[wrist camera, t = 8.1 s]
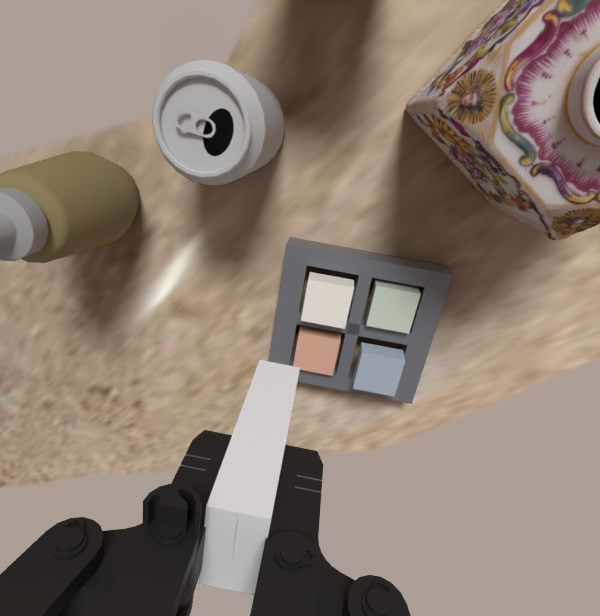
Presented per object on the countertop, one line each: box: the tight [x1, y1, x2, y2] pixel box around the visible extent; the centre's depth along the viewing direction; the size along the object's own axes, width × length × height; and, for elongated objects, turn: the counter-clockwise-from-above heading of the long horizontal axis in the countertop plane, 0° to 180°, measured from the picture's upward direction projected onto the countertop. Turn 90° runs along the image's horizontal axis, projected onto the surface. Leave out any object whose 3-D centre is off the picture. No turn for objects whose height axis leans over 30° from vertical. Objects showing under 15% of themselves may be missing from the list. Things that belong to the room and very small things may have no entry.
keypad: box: [269, 237, 453, 404], centre depth 42 cm, size 15×14×3 cm
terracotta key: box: [293, 325, 341, 376], centre depth 43 cm, size 4×4×3 cm
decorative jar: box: [406, 0, 600, 240], centre depth 26 cm, size 12×12×18 cm
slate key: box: [353, 342, 405, 397], centre depth 41 cm, size 4×4×3 cm
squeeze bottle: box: [0, 151, 140, 263], centre depth 33 cm, size 8×8×18 cm
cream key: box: [301, 272, 354, 329], centre depth 39 cm, size 4×4×3 cm
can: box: [152, 60, 285, 185], centre depth 32 cm, size 8×8×12 cm
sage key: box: [365, 279, 421, 334], centre depth 40 cm, size 4×4×3 cm
